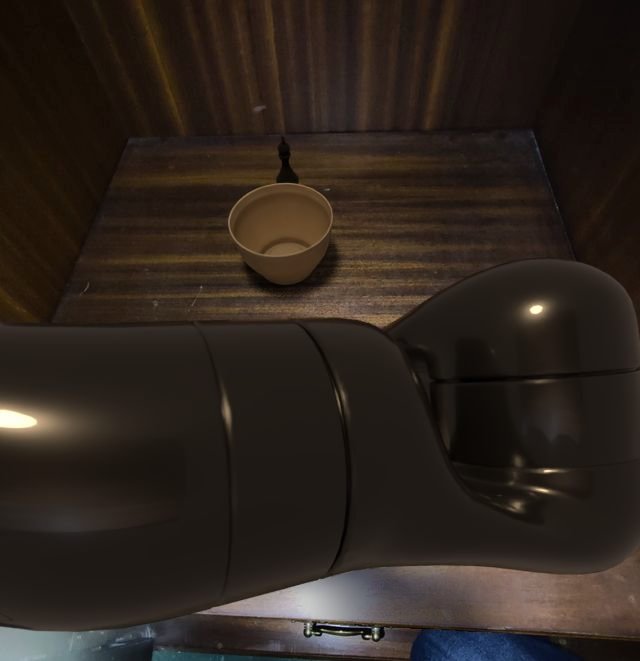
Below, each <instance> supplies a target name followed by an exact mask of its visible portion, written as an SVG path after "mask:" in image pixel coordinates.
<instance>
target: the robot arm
mask: <svg viewBox="0 0 640 661" xmlns="http://www.w3.org/2000/svg"><path fill="white" fill-rule="evenodd" d="M639 548H640V330H639V321H638V315H637V312H636V310H635V306H634V303H633V300H632V298H631V297H630V295H629V293H628V292H627V290H626V288H625V287H624V286H623V285H622V284H621V283H619V281H617V280H616V279H615V278H614V277H613V276H612V275H610V274H609V273H606V272H605V271H603V270H601V269H600V268H597V267H596V266H593V265H590V264H587V263H584V262H581V261H578V260H574V259H569V258H564V257H563V258H562V257H548V256H543V257H542V256H541V257H528V258H527V257H526V258H523V259H522V258H521V259H515V260H510V261H507V262H502V263H499V264H496V265H492V266H490V267H488V268H485V269H483V270H480V271H477V272H475V273H472V274H470V275H468V276H466V277H464V278H461V279H460V280H458V281H456V282H454V283H452V284H451V285H449V286H447V287H445V288H443V289H441V290H439V291H437V292H436V293H435V294H433V295H431V296H430V297H428V298H427V299H425V300H424V301H422V302H421V303H419V304H417V305H416V306H414V307H413V308H412V309H410V310H408V311H407V312H405V313H404V314H403V315H401V316H399V317H398V318H397V319H395V320H393V321H392V322H390V323H388V324H386V325H385V326H383V327H379V326H377V325H375V324H372V323H370V322H367V321H363V320H360V319H356V318H355V319H354V318H344V317H315V316H314V317H295V318H293V317H289V318H288V317H287V318H254V319H253V318H250V319H211V320H210V319H209V320H206V319H205V320H203V319H202V320H201V319H200V320H162V321H161V320H160V321H159V320H158V321H157V320H155V321H123V322H122V321H121V322H27V321H26V322H25V321H23V322H22V321H20V322H19V321H0V628H6V629H7V628H8V629H14V630H15V629H16V630H24V631H32V632H53V633H54V632H55V633H56V632H57V633H85V632H99V631H110V630H122V629H127V628H132V627H139V626H144V625H150V624H153V623H159V622H164V621H169V620H173V619H176V618H181V617H184V616H185V617H186V616H188V615H192V614H196V613H197V614H198V613H200V612H201V613H202V612H204V611H208V610H211V609H213V608H217V607H219V608H220V607H222V606H227V605H230V604H233V603H238V602H242V601H245V600H249V599H252V598H257V597H259V596H264V595H267V594H268V595H269V594H272V593H275V592H278V591H283V590H286V589H290V588H294V587H298V586H301V585H305V584H309V583H313V582H316V581H319V580H325V579H329V578H332V577H336V576H339V575H343V574H347V573H351V572H357V571H358V572H359V571H365V570H374V569H385V568H399V567H404V568H405V567H480V568H492V569H493V568H494V569H502V570H511V571H518V572H528V573H537V574H546V575H557V576H564V575H565V576H576V575H577V576H583V575H591V574H597V573H602V572H605V571H609V570H610V569H614V568H615V567H617V566H619V565H620V564H622V563H624V562H625V561H626V560H627V559H628V558H630V557H632V555H634V554H635V552H637V550H638V549H639Z"/></svg>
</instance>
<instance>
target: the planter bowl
mask: <svg viewBox="0 0 640 661" xmlns="http://www.w3.org/2000/svg"><path fill="white" fill-rule="evenodd" d="M333 222H334V213H333V208H332V206H331V204H330V202H329V200H328V199H327V198H326V197H325V196H324V195H323V194H322V193H320V192H319V191H317V190H315V188H312V187H309V186H306V185H304V184H300V183H298V184H294V183H271V184H267V185H264V186H260V187H257V188H255V189H253V190H251V191H250V192H248V193H246V194H244V195H243V196H242V197H241V198H240V199H239V200H237V202H236V203H235V204H234V206H233V207H232V209H231V210H230V212H229V215H228V220H227V226H228V232H229V235H230V236H231V238H232V240H233V242H234V245H235V247H236V250H237V251H238V254H239V255H240V256H241V258H242V259H243V261H244V262H245V263H246V264H247V265H248V266H249V267H250V268H251V269H252V270H253V271H254V272H256V273H258V274H259V275H260V276H263V277H264V278H265V279H266V280H267V281H269V282H271V283H273V284H275V285H276V284H277V285H280V286H281V285H282V286H290V285H295V284H298V283H300V282H302V281H304V280H306V279H307V278H308V277H309V276H310V275H311V274H312V273H313V271H314V269H315V268H316V267H317V266H318V265H319V264H320V262H321V261H322V259H323V258H324V256H325V254H326V252H327V250H328V247H329V244H330V241H331V235H332V227H333Z"/></svg>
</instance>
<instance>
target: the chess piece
mask: <svg viewBox="0 0 640 661" xmlns="http://www.w3.org/2000/svg"><path fill="white" fill-rule="evenodd" d="M290 150H291V145H290V144H289V143H287V142H286V139H285V137H284V135H281V136H280V142H279V143H278V145H277V151H278V153H277V156H278V158H279V159H280V161H281V168H280V170H279V173H278V174H277V177H276V179H275V182H276V183H275V184H277V183H294V184H299V181H300V178H299V177H298V175H297V173H296V172H295V171H294V170H293V168H292V166H291V165H290V158H291V151H290Z"/></svg>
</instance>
